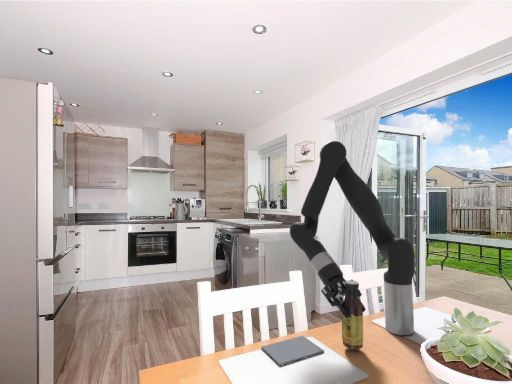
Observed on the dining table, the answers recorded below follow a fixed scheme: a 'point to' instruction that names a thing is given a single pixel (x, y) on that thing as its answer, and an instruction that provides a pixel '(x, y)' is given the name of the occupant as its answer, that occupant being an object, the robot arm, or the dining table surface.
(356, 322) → the sauce bottle
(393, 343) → the dining table surface
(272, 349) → the gray mat
